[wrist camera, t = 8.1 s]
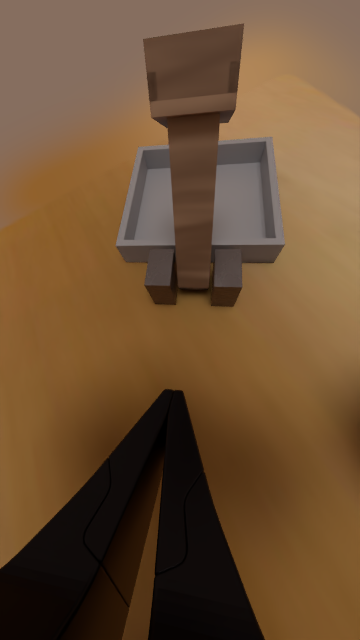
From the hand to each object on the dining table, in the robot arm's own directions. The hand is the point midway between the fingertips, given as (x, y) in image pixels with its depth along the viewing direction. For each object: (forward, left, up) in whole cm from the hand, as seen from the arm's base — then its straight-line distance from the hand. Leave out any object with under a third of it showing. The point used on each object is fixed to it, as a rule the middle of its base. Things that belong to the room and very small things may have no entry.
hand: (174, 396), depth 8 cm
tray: (+21, +10, -10) cm, 25 cm away
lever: (+10, +5, -10) cm, 15 cm away
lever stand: (+10, +5, -10) cm, 15 cm away
